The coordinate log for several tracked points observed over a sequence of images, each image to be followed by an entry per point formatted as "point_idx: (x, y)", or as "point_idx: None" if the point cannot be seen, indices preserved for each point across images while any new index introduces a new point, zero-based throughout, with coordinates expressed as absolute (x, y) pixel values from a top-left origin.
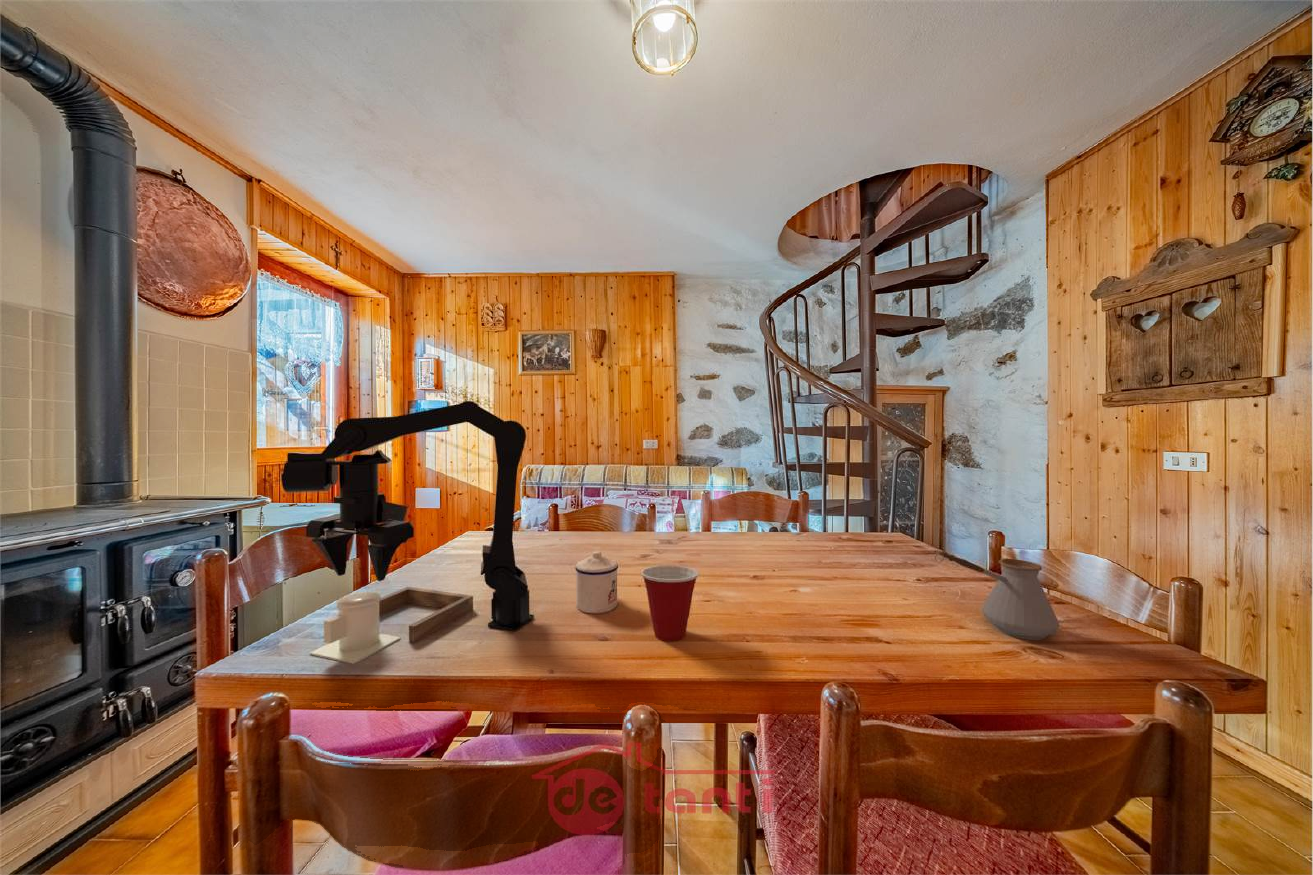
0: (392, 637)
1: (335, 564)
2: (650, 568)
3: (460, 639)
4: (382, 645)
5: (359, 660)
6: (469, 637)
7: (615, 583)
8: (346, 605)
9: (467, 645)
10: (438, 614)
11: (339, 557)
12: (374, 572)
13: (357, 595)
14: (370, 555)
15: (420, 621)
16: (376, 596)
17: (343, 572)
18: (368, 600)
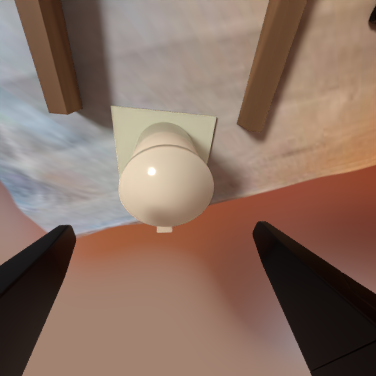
0: (202, 120)
1: (53, 300)
2: None
3: (317, 92)
4: (206, 148)
5: None
6: (332, 81)
7: None
8: (177, 224)
9: (331, 110)
10: (287, 54)
11: (21, 326)
12: (265, 270)
13: (144, 180)
14: (314, 372)
15: (263, 107)
16: (202, 173)
17: (69, 236)
18: (201, 196)
